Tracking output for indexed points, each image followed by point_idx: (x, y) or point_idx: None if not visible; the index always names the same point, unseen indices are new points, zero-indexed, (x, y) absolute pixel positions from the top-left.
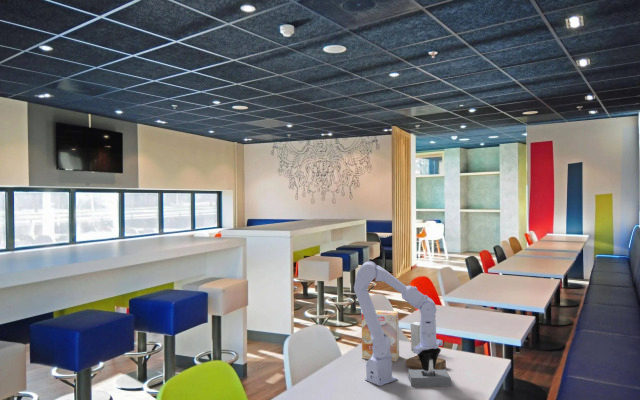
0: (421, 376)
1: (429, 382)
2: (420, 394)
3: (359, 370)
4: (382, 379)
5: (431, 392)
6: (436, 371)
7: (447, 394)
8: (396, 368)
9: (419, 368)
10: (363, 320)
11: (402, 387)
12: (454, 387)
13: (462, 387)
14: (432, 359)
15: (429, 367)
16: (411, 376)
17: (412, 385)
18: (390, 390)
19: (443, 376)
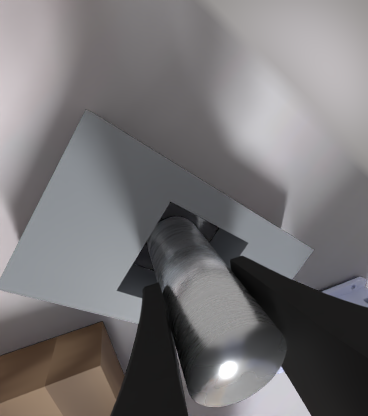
0: (259, 244)
1: (223, 193)
2: (323, 126)
3: (302, 401)
4: (356, 302)
5: (266, 111)
6: (106, 280)
7: (215, 15)
8: (190, 404)
9: (120, 380)
10: None
11: (315, 234)
12: (79, 77)
13: (9, 30)
14: (211, 350)
15: (229, 274)
16: (299, 265)
17: (280, 228)
18: (365, 229)
19: (126, 172)
